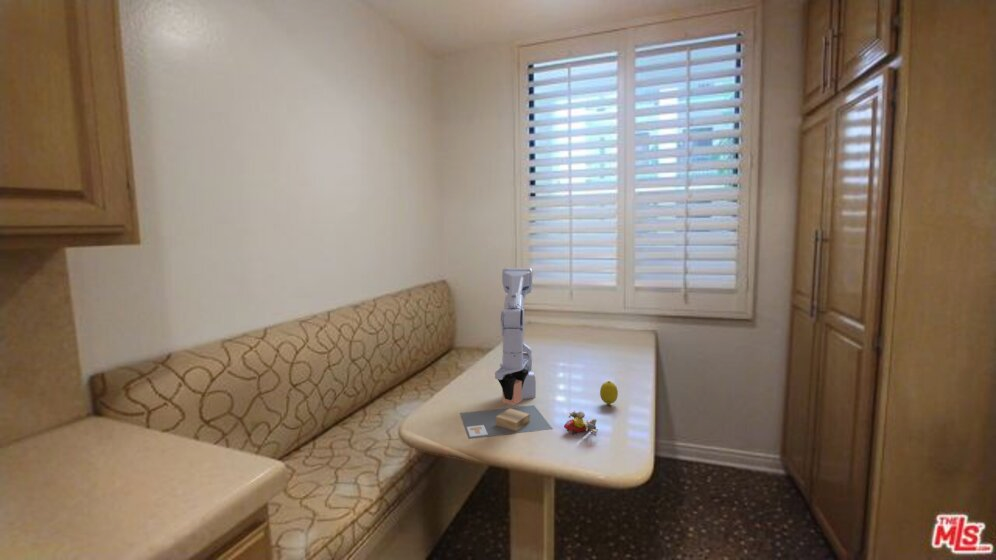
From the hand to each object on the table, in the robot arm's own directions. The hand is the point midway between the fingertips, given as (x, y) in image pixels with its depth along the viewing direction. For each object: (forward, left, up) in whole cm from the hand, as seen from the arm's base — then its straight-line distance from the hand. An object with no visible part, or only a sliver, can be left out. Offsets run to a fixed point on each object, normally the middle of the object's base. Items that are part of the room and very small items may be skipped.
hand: (512, 396), depth 126 cm
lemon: (-34, -7, -9) cm, 36 cm away
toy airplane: (-18, +9, -9) cm, 22 cm away
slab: (0, 0, -8) cm, 8 cm away
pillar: (0, 0, -2) cm, 2 cm away
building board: (+2, -3, -9) cm, 10 cm away
